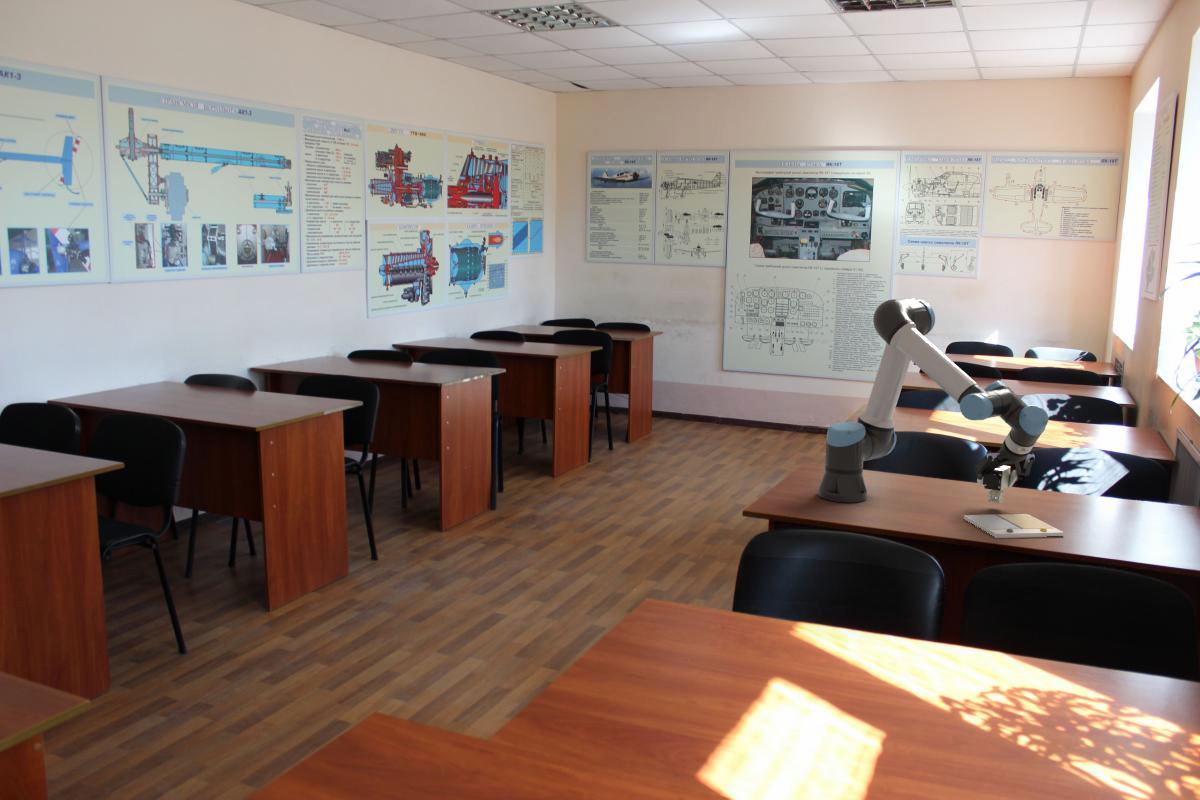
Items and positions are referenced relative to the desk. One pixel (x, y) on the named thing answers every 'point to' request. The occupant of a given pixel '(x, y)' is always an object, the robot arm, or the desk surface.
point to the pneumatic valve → (997, 482)
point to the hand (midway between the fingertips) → (993, 483)
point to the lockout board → (1013, 526)
